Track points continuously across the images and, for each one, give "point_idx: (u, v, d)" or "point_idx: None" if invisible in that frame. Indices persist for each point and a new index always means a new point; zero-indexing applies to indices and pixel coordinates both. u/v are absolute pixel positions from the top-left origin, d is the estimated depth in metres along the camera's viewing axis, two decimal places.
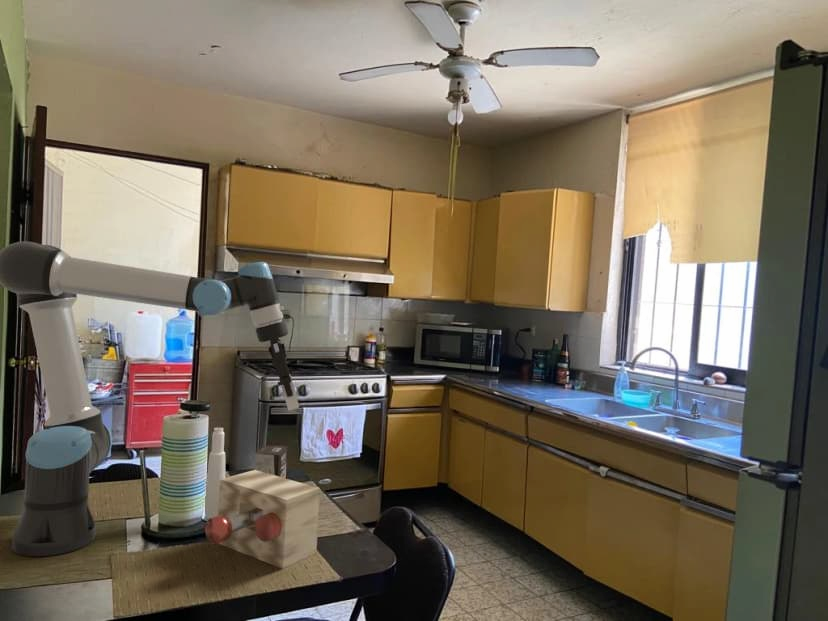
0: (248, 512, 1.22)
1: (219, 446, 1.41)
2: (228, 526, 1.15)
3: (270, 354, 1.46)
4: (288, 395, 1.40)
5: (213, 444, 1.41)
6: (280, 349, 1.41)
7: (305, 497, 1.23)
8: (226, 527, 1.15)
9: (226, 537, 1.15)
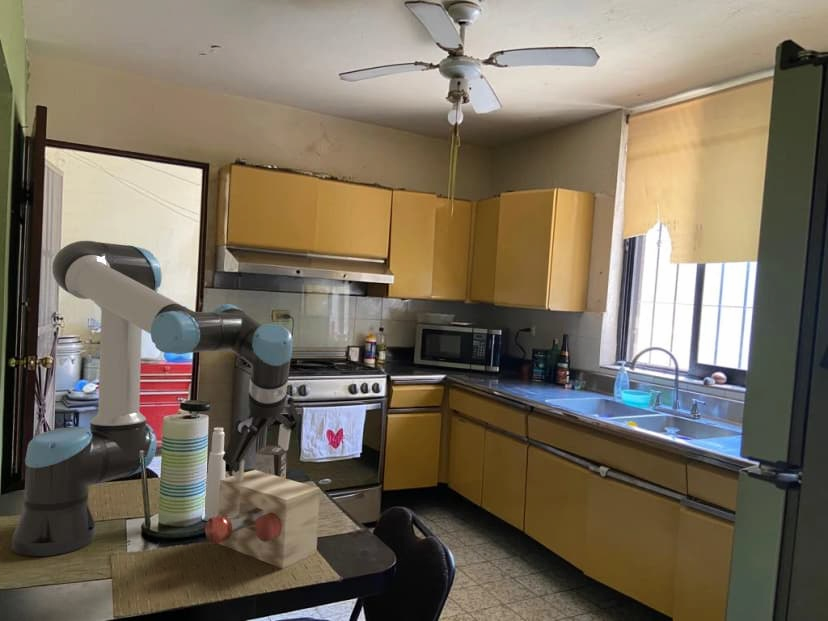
0: (248, 512, 1.22)
1: (219, 446, 1.41)
2: (228, 526, 1.15)
3: None
4: (231, 468, 1.25)
5: (213, 444, 1.41)
6: (241, 433, 1.19)
7: (305, 497, 1.23)
8: (226, 527, 1.15)
9: (226, 537, 1.15)
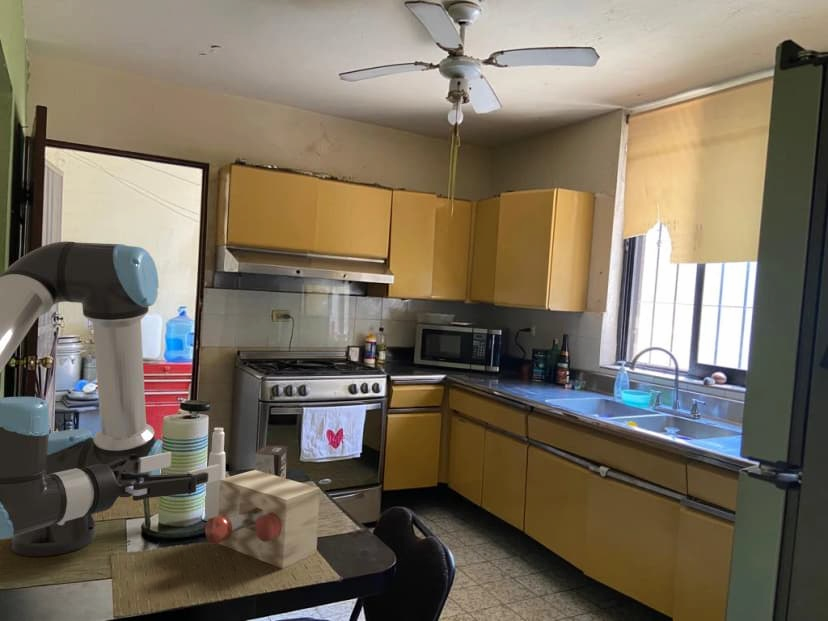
0: (248, 512, 1.22)
1: (219, 446, 1.41)
2: (228, 526, 1.15)
3: (119, 468, 1.00)
4: None
5: (213, 444, 1.41)
6: None
7: (305, 497, 1.23)
8: (226, 527, 1.15)
9: (226, 537, 1.15)
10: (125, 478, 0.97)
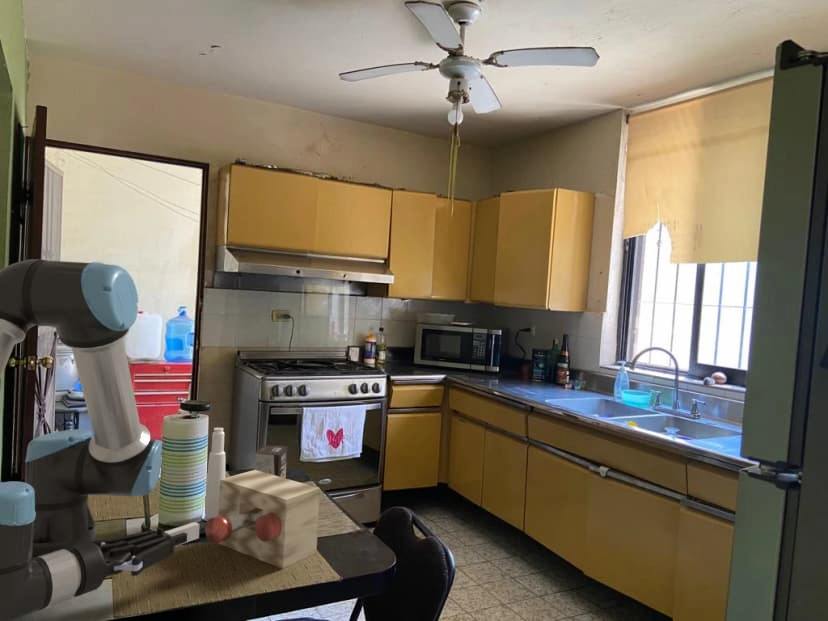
0: (248, 512, 1.22)
1: (219, 446, 1.41)
2: (228, 526, 1.15)
3: (112, 545, 0.98)
4: None
5: (213, 444, 1.41)
6: None
7: (305, 497, 1.23)
8: (226, 527, 1.15)
9: (226, 537, 1.15)
10: (117, 555, 0.96)
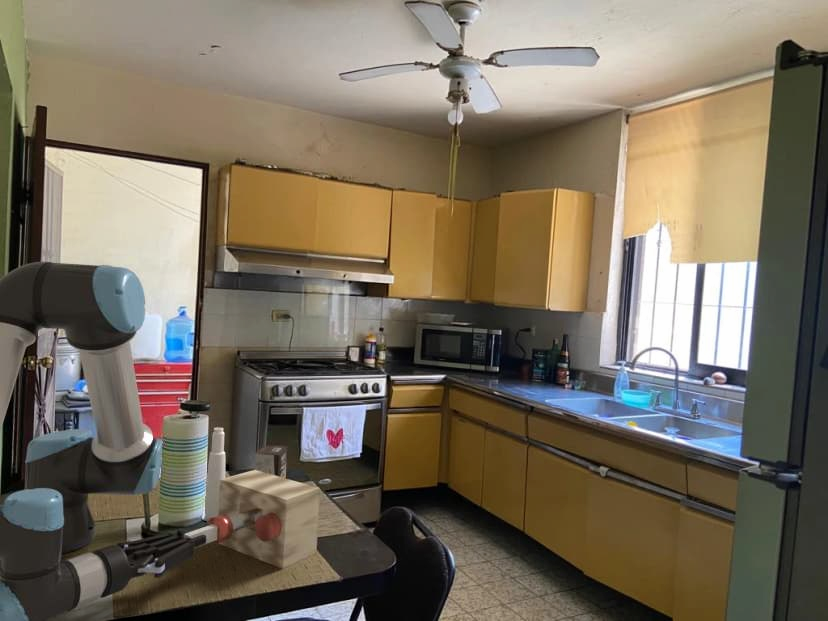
0: (249, 512, 1.22)
1: (219, 446, 1.41)
2: (229, 526, 1.16)
3: (135, 547, 1.02)
4: None
5: (213, 444, 1.41)
6: None
7: (305, 497, 1.23)
8: (227, 527, 1.15)
9: (227, 537, 1.15)
10: (141, 557, 1.00)
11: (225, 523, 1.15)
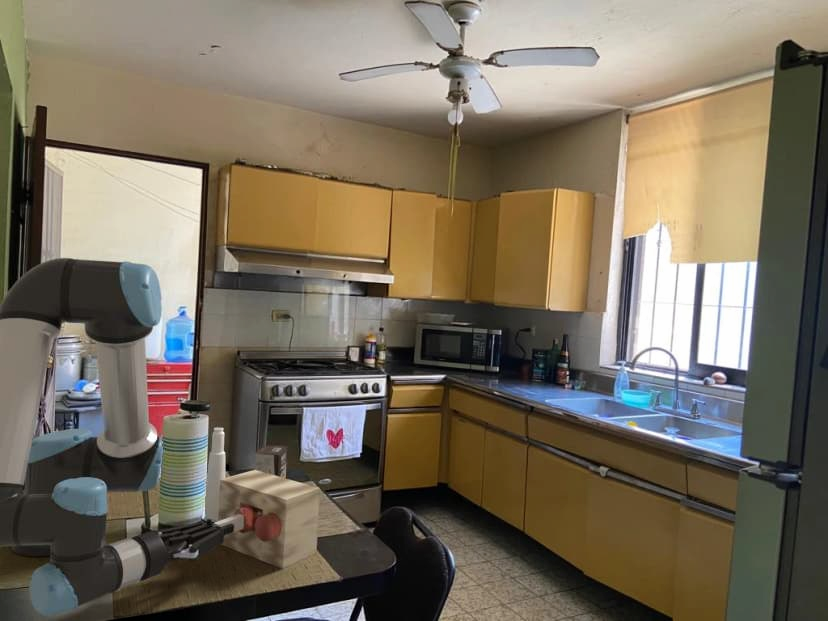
0: None
1: (219, 446, 1.41)
2: (256, 516, 1.22)
3: (169, 534, 1.08)
4: None
5: (213, 444, 1.41)
6: None
7: (305, 497, 1.23)
8: (254, 517, 1.21)
9: (254, 526, 1.21)
10: (175, 543, 1.06)
11: (252, 513, 1.21)
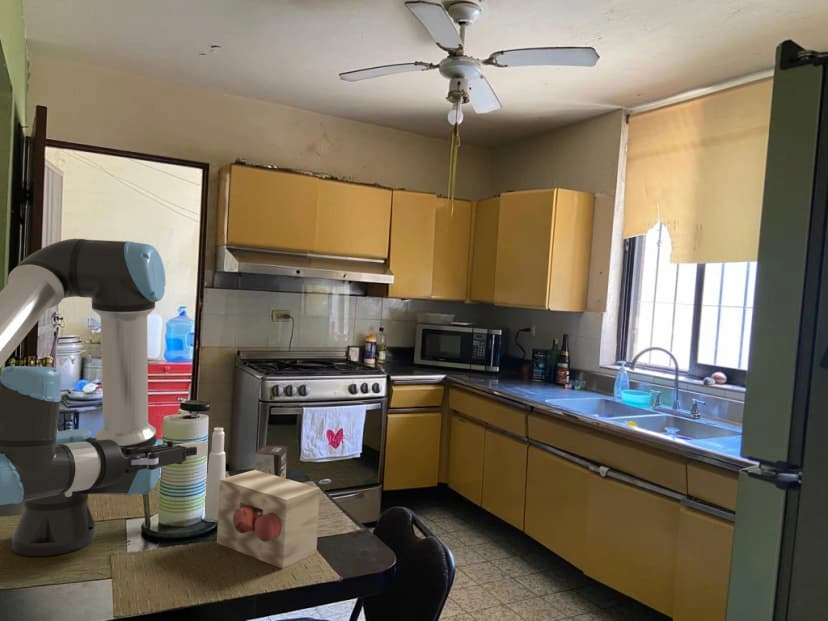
0: None
1: (219, 446, 1.41)
2: (255, 516, 1.21)
3: (126, 447, 1.01)
4: None
5: (213, 444, 1.41)
6: None
7: (305, 497, 1.23)
8: (253, 517, 1.21)
9: (253, 527, 1.21)
10: (133, 453, 0.99)
11: (252, 514, 1.21)
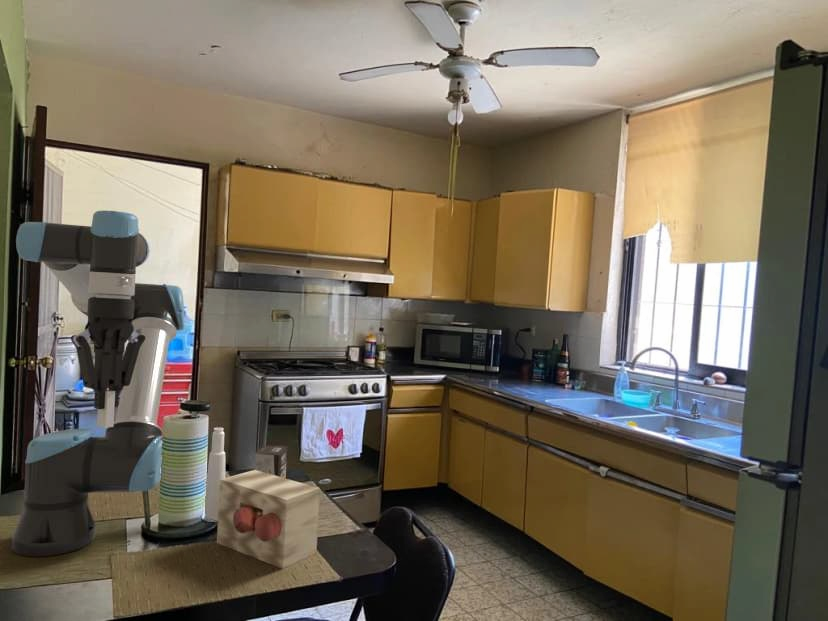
0: None
1: (219, 446, 1.41)
2: (255, 516, 1.21)
3: None
4: (95, 406, 1.05)
5: (213, 444, 1.41)
6: (80, 346, 1.02)
7: (305, 497, 1.23)
8: (253, 517, 1.21)
9: (253, 527, 1.21)
10: None
11: (252, 514, 1.21)
